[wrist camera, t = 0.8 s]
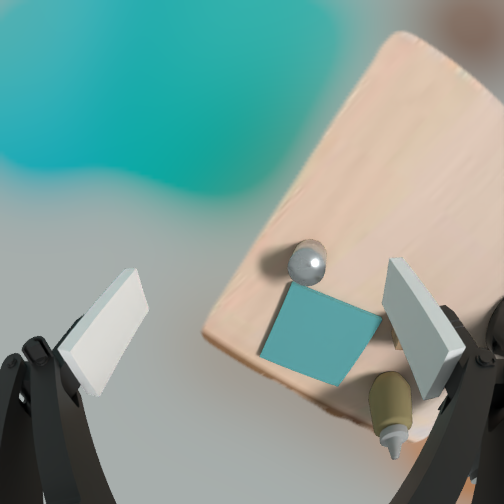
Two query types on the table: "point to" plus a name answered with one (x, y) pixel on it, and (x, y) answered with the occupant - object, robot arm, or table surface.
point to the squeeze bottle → (391, 410)
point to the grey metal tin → (308, 263)
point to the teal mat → (319, 335)
